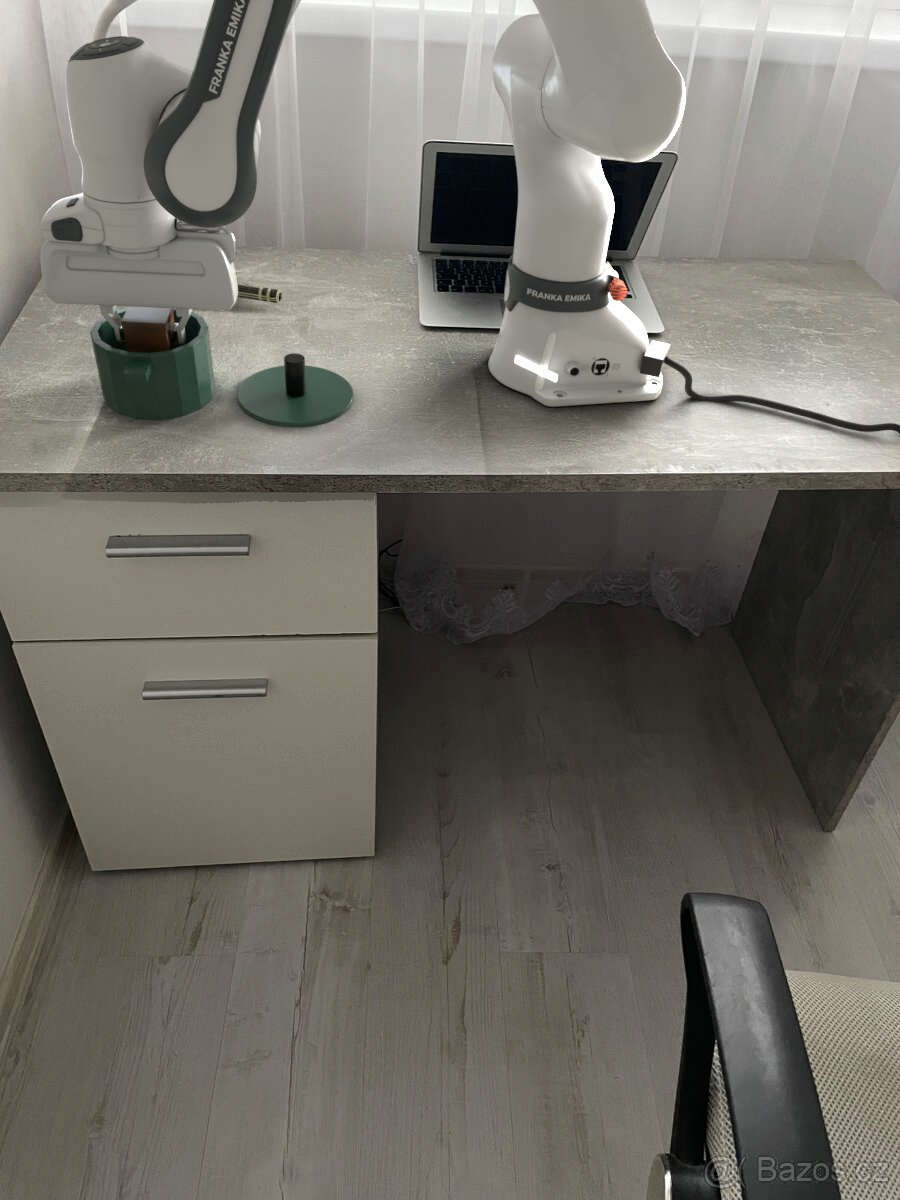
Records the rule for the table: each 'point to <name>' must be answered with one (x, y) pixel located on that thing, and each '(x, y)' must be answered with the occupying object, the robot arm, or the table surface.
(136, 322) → the walnut box
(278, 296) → the revolver
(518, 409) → the table surface
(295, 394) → the pot lid
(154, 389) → the pot
